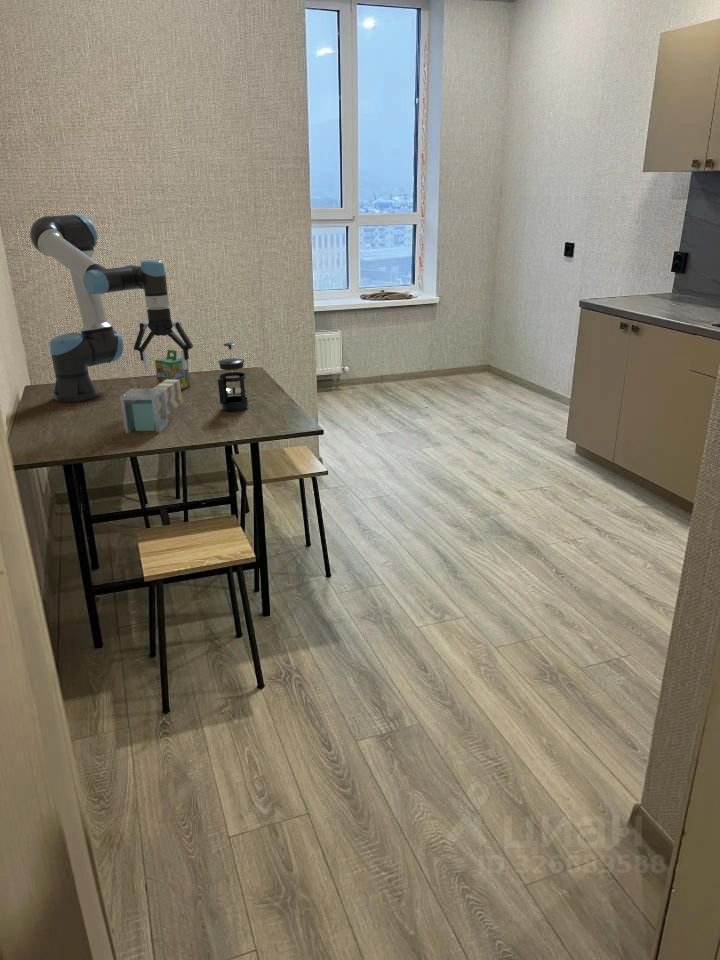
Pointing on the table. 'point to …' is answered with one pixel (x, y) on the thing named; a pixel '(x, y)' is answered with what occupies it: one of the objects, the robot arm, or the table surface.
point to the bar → (169, 396)
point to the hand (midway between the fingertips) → (166, 369)
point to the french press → (233, 401)
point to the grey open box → (143, 394)
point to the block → (144, 415)
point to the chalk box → (172, 370)
